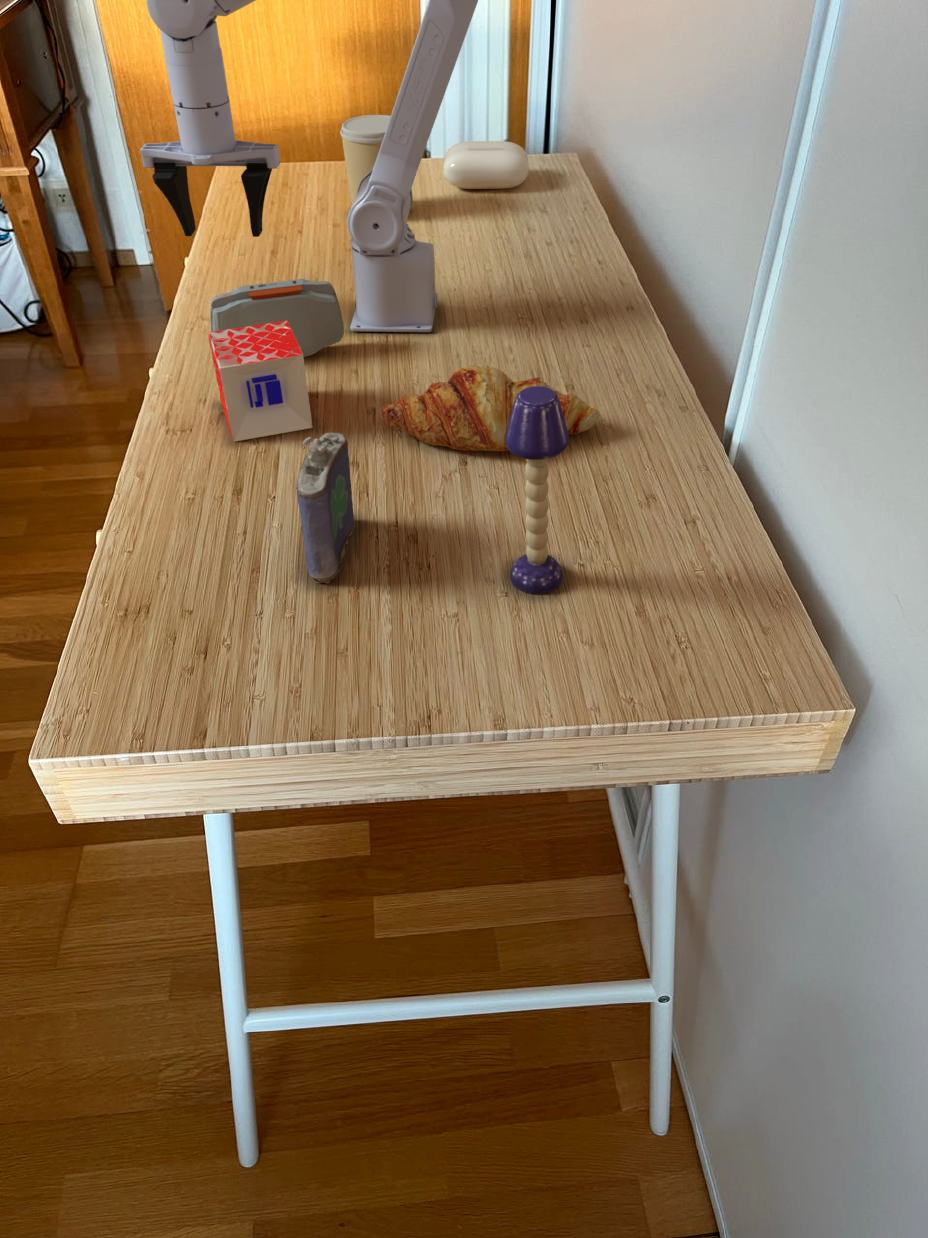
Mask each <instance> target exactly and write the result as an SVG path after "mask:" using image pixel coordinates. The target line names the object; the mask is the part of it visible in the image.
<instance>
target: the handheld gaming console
mask: <svg viewBox="0 0 928 1238" xmlns="http://www.w3.org/2000/svg"><path fill="white" fill-rule="evenodd" d="M209 304H210V308H209V310H210V311H209V312H210V314H209V315H210V316H209V317H210V332H214V331H221V330H228V329H234V328H241V327H248V326H254V325H261V324H267V323H274V322H281V321H288V323H289V325H290V327H291V329H292V332H293V334H294V336H295V338H296V340H297V343H298V345H299V347H300V349H301V351H302V353H303V357H304V358H305V357H310V356H313V355H315V354H316V353H318V352H319V351H321V350H322V349H324V348H326V347H329V346H332V345H335V344H337V343H340V342H341V340H342V339H343V337H344V334H345V327H344V326H345V325H344V319H343V314H342V309H341V307H340V303H339V298H338V295H337V292H336V290H335V288H334V286H333V284H332V283H331V282H329V281H327V280H314V281H313V280H310V279H305V278H299V279H298V278H297V279H290V280H281V281H272V282H265V283H257V284H248V285H241V286H238V287H236V288H234V289H232V290H231V291H229V292H224V293H220V294H217V295H215V296H214V297H212V298H211V300H210V302H209Z"/></svg>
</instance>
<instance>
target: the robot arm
mask: <svg viewBox="0 0 928 1238" xmlns="http://www.w3.org/2000/svg"><path fill="white" fill-rule="evenodd" d="M255 1H257V0H146V5H147V6H146V7H147V10H148V14H149V16H150V18H151V20H152V22H153V23H154V24H155V26H156V27H157V28H158V29H159V32H160V36H161V42H162V47H163V53H164V54H163V55H164V56H163V57H164V62H165V67H166V71H167V78H168V83H169V89H170V93H171V98H172V104H173V108H174V109H173V110H174V113H175V119H176V124H177V131H178V136H179V140H177V141H169V142H156V143H145V144H143V145H142V146H141V147H140V149H139V151H140V156H141V161H142V165H143V168H144V169H153V172H154V173H153V174H152V180H153V183H154V184H155V186H156V187H158V189H159V190H160V192H161V193H162V194H163V195H164V197H165V198H166V201H168V204H169V205H170V206H171V208H172V210H173V211H174V214H175V215H176V217H177V219H178V222H179V223H180V226H181V228H182V231H183V233H184V236H185V237H192V236H193V235H194V233H195V231H196V230H197V229H196V221H195V215H194V210H193V205H192V202H191V197H190V190H189V188H190V187H189V182H188V181H189V180H188V167H246V169H244V170H243V172H242V174H241V175H240V179H241V182H242V186H243V189H244V193H245V197H246V201H247V207H248V214H249V223H250V224H249V225H250V231H251V236H252V238H259V237H260V236H261V235H262V232H263V216H264V215H263V214H264V205H265V199H266V193H267V190H268V186H269V181H270V178H271V175H272V171H273V170H274V169H278V167H280V164H281V157H280V148H279V144H278V143H263V142H262V143H261V142H255V141H254V142H253V141H246V140H239V139H238V140H237V139H236V134H235V128H234V122H233V114H232V108H231V102H230V96H229V90H228V82H227V77H226V76H227V75H226V70H225V63H224V58H223V57H224V56H223V51H222V48H221V45H220V37H219V30H218V25H217V18H218V17H227V16H230V15H232V14H233V13H235V12H237V11H239V10H241V9H243V8H244V7H246V6H248V5H250V4H252V3H254V2H255ZM478 3H479V0H428V2H427V5H426V8H425V11H424V14H423V16H422V19H421V22H420V26H419V28H418V29H419V30H418V32H417V36H416V38H415V41H414V44H413V47H412V50H411V53H410V56H409V59H408V62H407V66H406V68H405V72H404V74H403V77H402V81H401V84H400V86H399V90H398V93H397V95H396V98H395V101H394V105H393V108H392V111H391V114H390V116H391V117H390V120H389V123H388V126H387V129H386V132H385V135H384V138H383V141H382V144H381V147H380V150H379V153H378V156H377V159H376V162H375V165H374V167H373V169H372V170H371V171H370V172H369V173H368V174H367V175H366V176H365V177H364V178H363V179H362V181H361V182H360V184H359V188H358V194H357V197H356V199H355V202H354V204H353V205H352V204H351V207H350V209H349V210H348V214H347V220H346V222H347V223H346V226H347V231H348V233H349V236H350V246H351V248H350V249H351V257H352V259H351V260H352V270H353V280H354V281H353V282H354V293H355V303H356V307H355V310H354V313H353V316H352V319H351V322H350V325H349V328H350V331H351V332H373V333H374V332H376V333H378V332H383V333H430V332H432V331H433V326H434V320H435V314H436V310H437V308H438V293H437V291H436V264H435V263H436V261H435V247H434V244H433V243H432V242H425V241H420V240H417V239H416V236H415V233H414V232H413V231H412V229H411V228H410V226H409V224H408V223H407V221H408V218H409V214H410V213H411V210H412V207H413V202H414V200H413V199H414V195H413V190H412V188H413V185H414V182H415V179H416V176H417V172H418V169H419V166H420V164H421V161H422V158H423V156H424V153H425V150H426V147H427V145H428V142H429V139H430V136H431V134H432V130H433V128H434V125H435V122H436V120H437V117H438V114H439V111H440V108H441V105H442V102H443V100H444V98H445V94H446V92H447V89H448V86H449V84H450V81H451V78H452V75H453V72H454V69H455V66H456V64H457V61H458V59H459V55H460V53H461V50H462V47H463V44H464V41H465V39H466V36H467V33H468V30H469V28H470V25H471V22H472V20H473V16H474V14H475V11H476V8H477V5H478Z"/></svg>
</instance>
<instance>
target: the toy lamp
mask: <svg viewBox="0 0 928 1238" xmlns="http://www.w3.org/2000/svg"><path fill="white" fill-rule="evenodd" d="M550 388H551V387H550ZM550 388H548V387H543V386H532V387H527V388H525V389H523V390H521V391H520V392H519V393H518V394H517V396H516V399H515V402H514V405H513V409H512V413H511V416H510V420H509V424H508V427H507V431H506V436H505V443H506V446H507V448H508V450H507V451H509V452H510V453H511V454H513V455H514V456H516V457H519V458H522V459H524V460H526V465H525V468H524V469H525V470H524V473H525V478H526V481H525V486H524V487H525V488H524V489H525V490H524V491H525V494H526V498H525V502H524V507H525V511H526V516H525V527H526V533H525V540H526V543H527V544H526V545H527V546H526V549H525V554H522V555H521V556H520V557H518V558H517V560H516V561H515V562H514V563H513V564H512V568H511V570H510V577H509V578H510V581H511V583H512V585H513V586H514V587H515V588H516V589H517V590H520V591H521V592H524V593H527V594H536V595H540V594H547V593H550V592H553V591H554V590H556V589H557V588H559V586H560V585H561V583H562V581H563V570H562V568H561V566H560V564H559V562H558V561H557V559H556V558H554V557H553V556H552V555H550V554H549V550H548V546H547V544H548V541H549V534H548V533H549V532H548V530H547V529H548V527H549V516H548V511H549V499H548V494H549V482H548V481H547V480H548V478H549V476H550V475H549V474H550V468H549V465H548V461H549V460H550V459H551V458H554V457H556V456H557V457H558V456H559V455H560V454H562V453H563V452H564V451H565V450H566V449H567V447H568V445H569V442H570V441H569V440H570V437H569V434H568V431H567V427H566V423H565V419H564V416H563V412H562V408H561V405H560V401H559V398H558V396H557V394H556V393H555V391H553V390H552V389H550Z"/></svg>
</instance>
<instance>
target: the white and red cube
mask: <svg viewBox="0 0 928 1238" xmlns="http://www.w3.org/2000/svg"><path fill="white" fill-rule="evenodd" d="M207 334H208V342H209V347H210V350H211V356H212V363H213V367H214V369H215V370H214V371H215V377H216V382H217V386H218V391H219V392H218V393H219V398H220V402H221V406H222V410H223V412H224V415H225V418H226V421H227V425H228V429H229V431H230V436H231V438H232V442H233V443H235V442H242V441H247V440H251V439H257V438H263V437H268V436H274V435H280V434H281V435H282V434H285V433H291V432H296V431H302V430H309V429H313V428H314V425H313V418H312V411H311V406H310V405H311V404H310V397H309V390H308V381H307V375H306V363H305V357H303V353H302V351H301V349H300V347H299V345H298V343H297V340H296V338H295V336H294V334H293V332H292V329H291V327H290V325H289V323H288V321H281V322H274V323H267V324H261V325H254V326H248V327H241V328H234V329H228V330H221V331H214V332H211V331H208V332H207Z"/></svg>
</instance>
